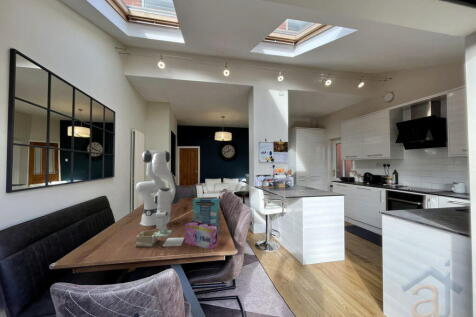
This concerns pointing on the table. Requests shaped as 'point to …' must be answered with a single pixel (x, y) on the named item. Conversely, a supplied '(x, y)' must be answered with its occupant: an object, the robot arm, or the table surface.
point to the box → (146, 238)
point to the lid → (165, 234)
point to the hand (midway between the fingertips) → (163, 231)
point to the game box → (206, 210)
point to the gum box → (201, 234)
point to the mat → (174, 242)
